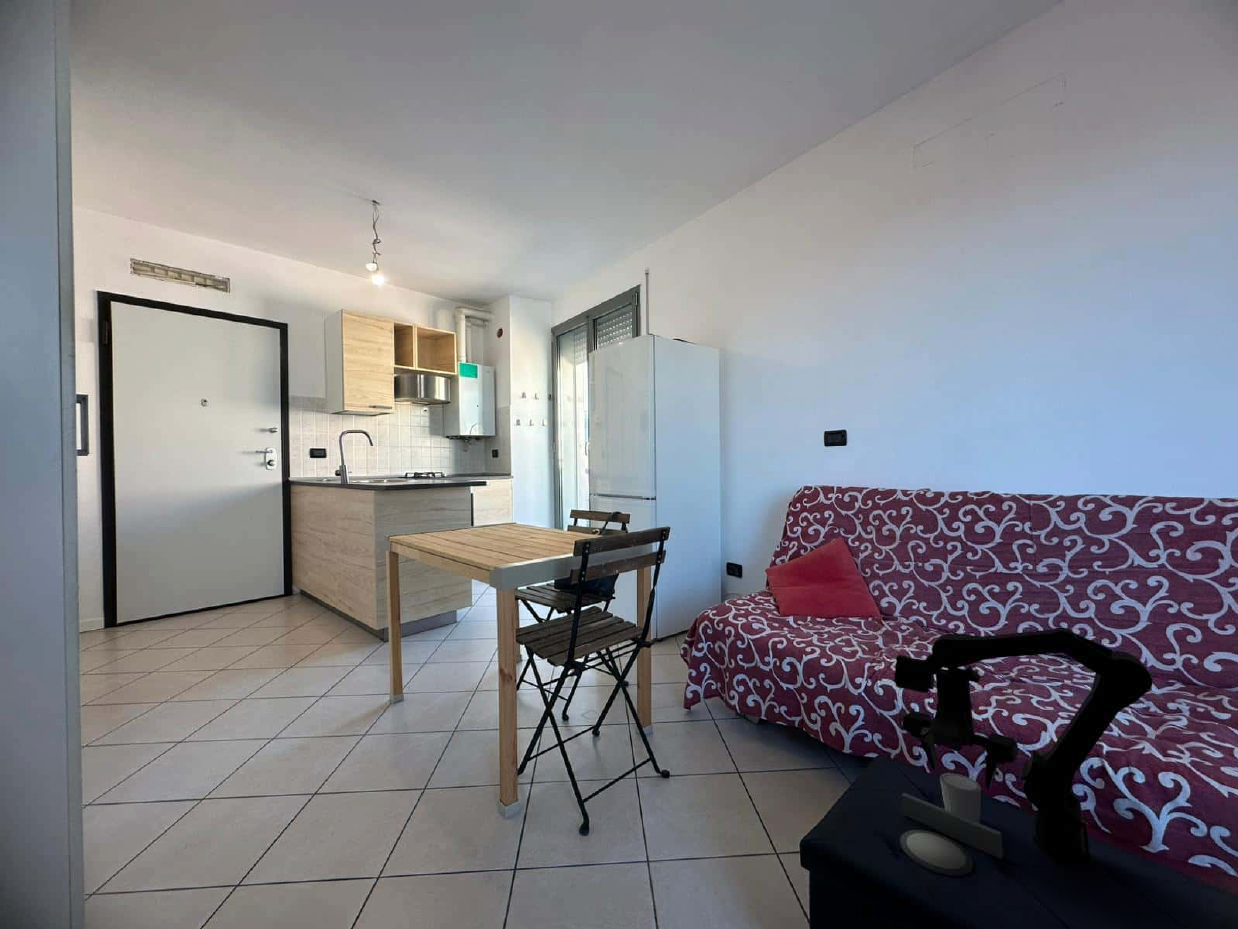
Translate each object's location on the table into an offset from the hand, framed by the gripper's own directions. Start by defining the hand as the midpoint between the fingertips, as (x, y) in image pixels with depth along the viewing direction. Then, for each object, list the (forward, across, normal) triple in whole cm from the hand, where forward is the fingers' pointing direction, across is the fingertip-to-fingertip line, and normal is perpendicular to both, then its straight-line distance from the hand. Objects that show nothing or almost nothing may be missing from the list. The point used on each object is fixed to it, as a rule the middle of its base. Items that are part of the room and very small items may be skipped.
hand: (960, 778), depth 96 cm
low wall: (+8, 0, -8) cm, 11 cm away
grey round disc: (+8, 0, -15) cm, 17 cm away
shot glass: (+8, 0, 0) cm, 8 cm away
